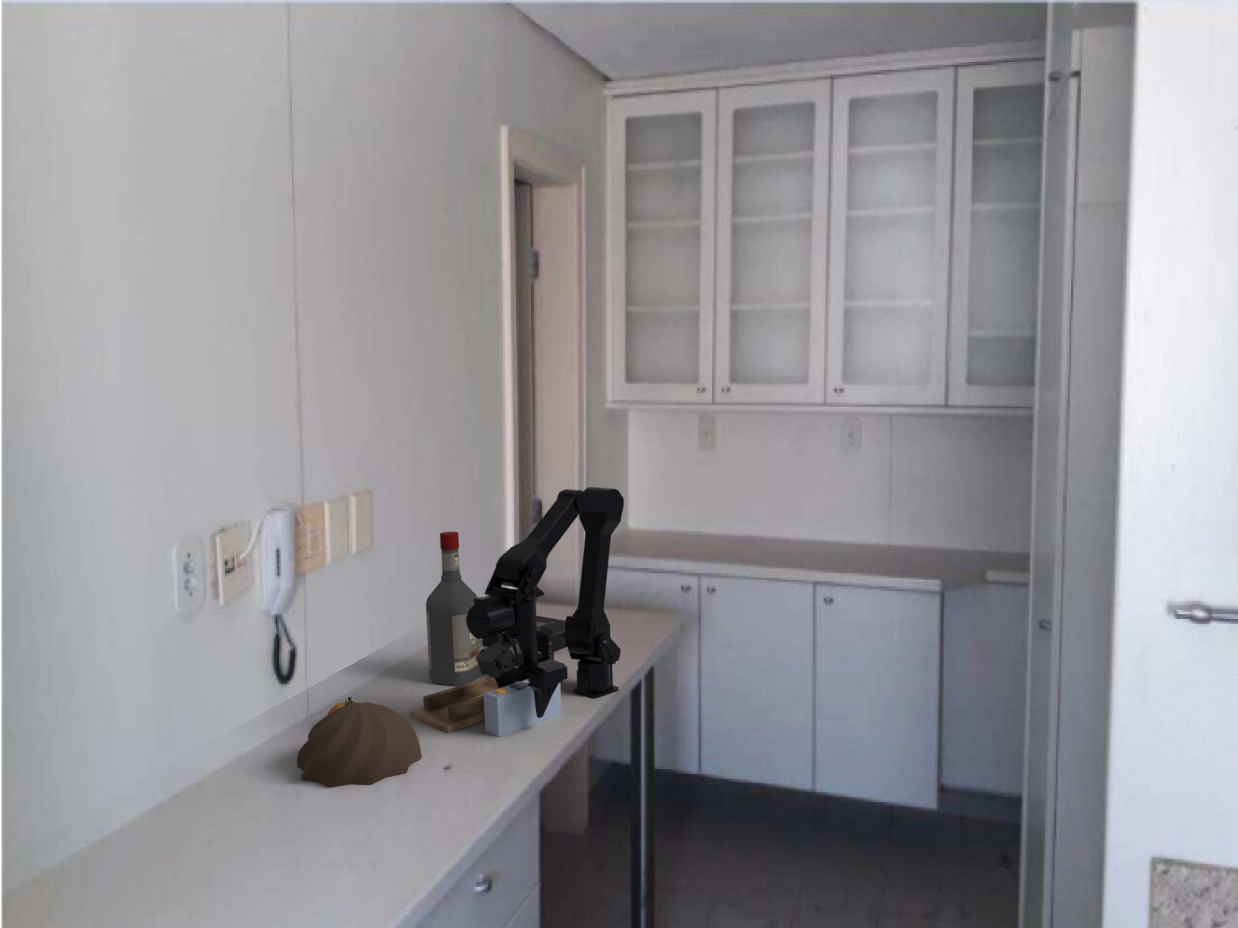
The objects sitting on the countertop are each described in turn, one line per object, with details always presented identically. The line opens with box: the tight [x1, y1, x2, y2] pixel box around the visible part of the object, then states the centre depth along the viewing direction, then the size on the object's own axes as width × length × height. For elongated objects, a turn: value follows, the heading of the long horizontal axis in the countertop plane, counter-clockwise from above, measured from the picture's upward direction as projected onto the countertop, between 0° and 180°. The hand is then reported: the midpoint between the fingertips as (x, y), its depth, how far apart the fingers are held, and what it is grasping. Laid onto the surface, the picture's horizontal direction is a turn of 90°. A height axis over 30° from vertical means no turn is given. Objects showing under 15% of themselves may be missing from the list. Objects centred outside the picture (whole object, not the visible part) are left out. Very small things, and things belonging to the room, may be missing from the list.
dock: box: [410, 676, 498, 734], centre depth 185 cm, size 20×12×4 cm, turn 134°
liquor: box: [425, 531, 482, 687], centre depth 202 cm, size 9×9×30 cm
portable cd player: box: [481, 615, 567, 653], centre depth 228 cm, size 16×17×4 cm
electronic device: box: [515, 628, 555, 682], centre depth 202 cm, size 4×10×10 cm, turn 78°
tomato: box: [327, 696, 356, 715], centre depth 178 cm, size 8×7×7 cm
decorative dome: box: [296, 701, 422, 789], centre depth 162 cm, size 19×20×10 cm
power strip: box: [484, 679, 562, 738], centre depth 177 cm, size 14×4×7 cm, turn 133°
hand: (523, 710), depth 178 cm, fingers open, 9 cm apart
